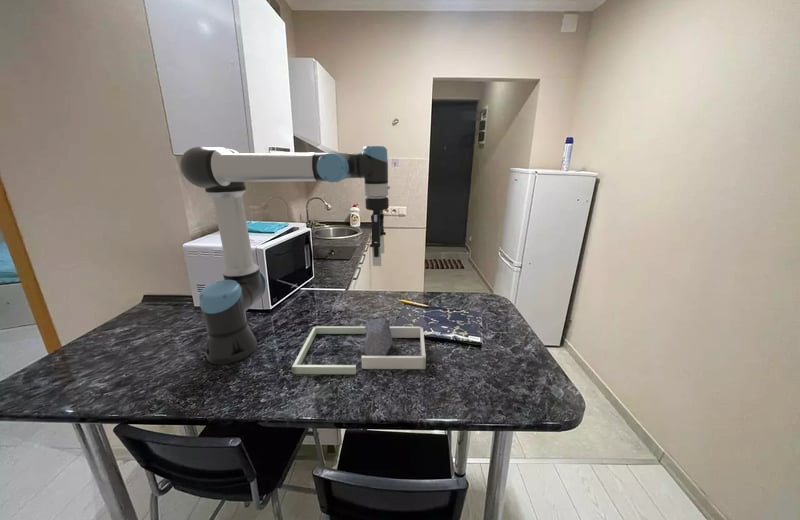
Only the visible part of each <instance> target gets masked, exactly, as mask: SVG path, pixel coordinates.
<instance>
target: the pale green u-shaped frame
mask: <svg viewBox="0 0 800 520" xmlns="http://www.w3.org/2000/svg"><path fill="white" fill-rule="evenodd" d="M366 332H367V330H366V326H363V325H362V326H361V325H360V326H359V325H356V326H355V325H353V326H345V325H343V326H341V325H340V326H338V325H337V326H336V325H335V326H331V325H329V326H326V325H324V326H322V325H321V326H320V325H317V326H316V325H315V326H313V327H312V330H311V331H310V333H309V334H308V336H307V338H306V340H305V342H304V344H303V345H302V347H301V349H300V351H299V353H298V355H297V357H296V358H295V361H294V362H293V364H292V366H291V371H292V375H356V374H357V365H356V364H302V363H303V361H304V359H305V357H306V355H307V353H308V351H309V349H310V348H311V346H312V344H313V341H314V339H315V337H316V335H325V334H329V335H330V334H331V335H333V334H334V335H346V334H348V335H351V334H352V335H356V334H357V335H358V334H359V335H366Z"/></svg>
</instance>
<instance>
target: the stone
mask: <svg viewBox="0 0 800 520" xmlns="http://www.w3.org/2000/svg"><path fill="white" fill-rule="evenodd" d="M364 341H365V342H364V354H365V356H388V352H389V350H390V349H391V347H392V345H393V338H392V336H391V332H390V321H389V320H388V319H387V318H386V317H385V316H377V317H372V318H369V320H367V324H366V333H365V340H364Z"/></svg>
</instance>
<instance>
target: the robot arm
mask: <svg viewBox="0 0 800 520" xmlns="http://www.w3.org/2000/svg"><path fill="white" fill-rule="evenodd" d="M388 159H389V157H388V149H387V148H386V147H385V146H384V145H365V146H363V149H362V152H358V153H357V152H356V153H355V152H353V153H352V152H350V153H349V152H348V153H347V152H345V153H344V152H335V151H327V152H271V153H270V152H269V153H267V152H266V153H265V152H264V153H262V152H260V153H257V152H256V153H255V152H254V153H251V152H250V153H239V152H238V151H237V150H234V149H231V148H227V147H222V146H219V147H213V146H212V147H211V146H196V147H192V148H189V149H187V150H186V151H185V152H183V154H182V156H181V158H180V162H179V168H180V171H181V173H182V175H183V177H184V178H185V179H186V180H187V181H188V182H189V183H190V184H191V185H194V186H195V187H199V188H202V189H204V191H205V193H206V194H207V195H208V196H210V197H211V198H212V202H213V207H214V211H215V217H216V221H217V226H218V231H219V236H220V240H221V246H222V251H223V255H224V261H225V265H226V268H225V269H224V270H223V271H222V276H223V279H222V280H219V281H216V282H212V283H210V284H208V285H207V286H205V287H204V288H202V289H201V290H200V292H199V295H198V297H199V298H198V301H199V307H200V309H201V314H202V317H203V322H204V325H205V329H206V334H207V340H206V345H205V350H204V351H205V353H204V354H205V356H206V360H207V362H209V363H210V364H213V365H221V366H222V365H229V364H233V363H236V362H240V361H241V360H244V359H245V358H247V357H249V356H250V355H252V354H253V353H254V352H255V351H256V350H257V348H258V342H257V338H256V335H254V333H253V331H252V329H251V328H250V327H249V325H248V321H247V315H246V312H247V311H248V310H249V309H251V307H252V306H253V305H254V304H255V303H256V302H258V301H259V300H261V298H262V297H263V295H264V294H265V293H266V291H267V287H268V280H267V277H266V275H265V274H264V273H263V272H262V271H261V270H260V266H259V265H258V264H256V263H255V262H254V258H253V252H252V247H251V246H252V245H251V241H250V240H251V239H250V236H249V229H248V223H247V222H248V221H247V217H246V211H245V206H244V200H243V196H244V194H245V192H247V188H246V183H255V182H256V183H263V182H264V183H265V182H267V183H268V182H270V183H271V182H272V183H273V182H275V183H276V182H279V183H280V182H285V183H286V182H328V183H339V182H342V181H343V180H345V179H364V196H366V198H365V201H364V202H365V209H366V210H368V211H372V214H371V215H370V219H371V226H370V227H371V243H369V248H371V251H372V252H371V253H372V267H381V266H382V254H385V237H384V236H386V234H387V233H386V232H385V228H384V226H385V225H384V221H385V220H384V218H385V214H384V212H383V211H385V210H388V209H389V206H390V205H389V203H390V202H389V198H388V195H389V190H390V189H391V187H390V185H389V161H388Z"/></svg>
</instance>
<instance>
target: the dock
mask: <svg viewBox="0 0 800 520" xmlns="http://www.w3.org/2000/svg"><path fill="white" fill-rule="evenodd" d="M389 326H390V325H389ZM390 332H391V336H392V339H398V338H400V339H402V338H405V339H406V338H407V339H410V338H411V339H412V338H413V339H414V338H415V339H417V338H418V339H419V340H420V341H419V342H420V354H421V355H386V356H369V355H361V360H360V361H361V369H364V370H427V369H426V368H427V367H426V366H427V365H426V364H427V355H426V347H425V346H426V345H425V336H424V327H423V326H403V325H402V326H396V325H395V326H394V325H393V326H390Z"/></svg>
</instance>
